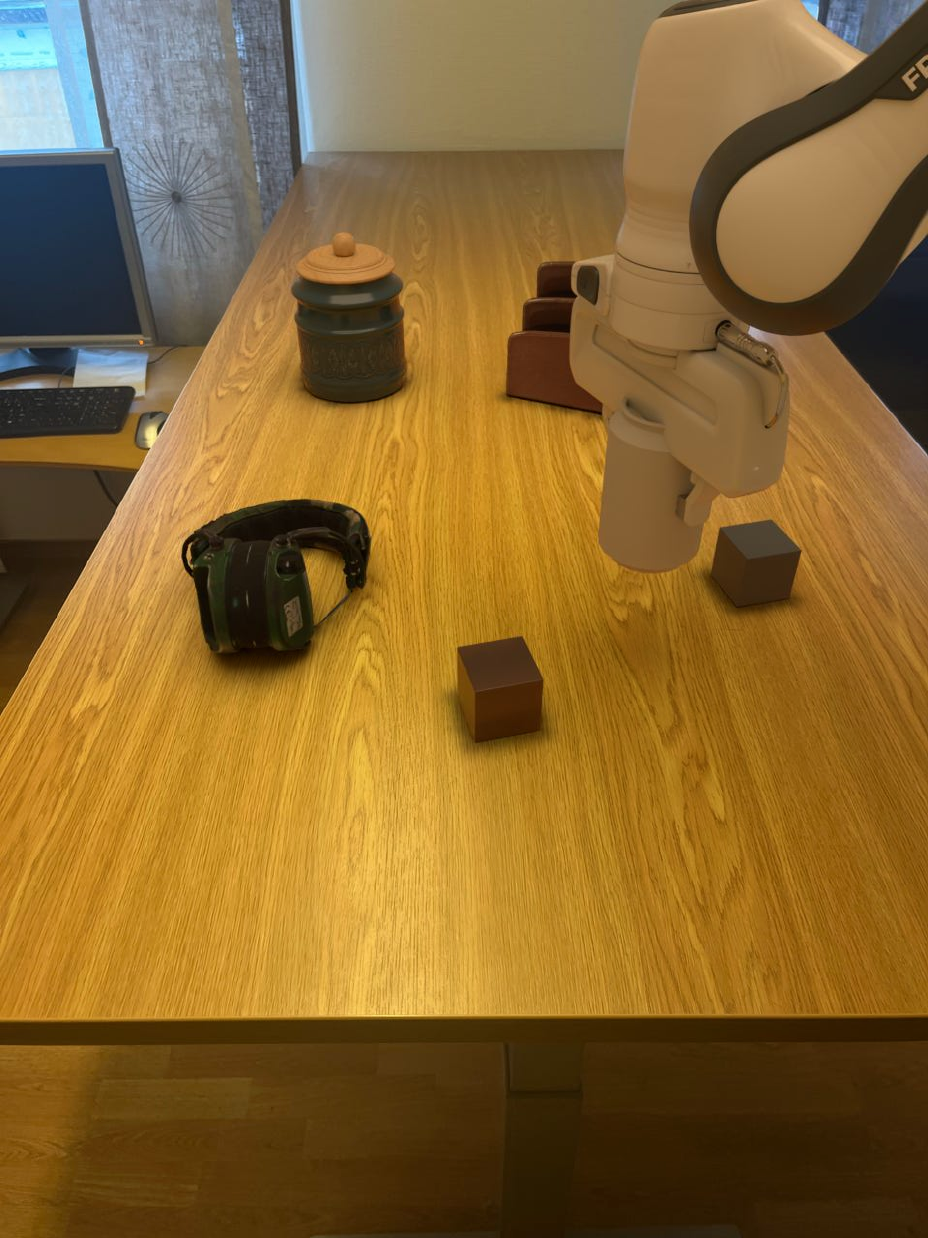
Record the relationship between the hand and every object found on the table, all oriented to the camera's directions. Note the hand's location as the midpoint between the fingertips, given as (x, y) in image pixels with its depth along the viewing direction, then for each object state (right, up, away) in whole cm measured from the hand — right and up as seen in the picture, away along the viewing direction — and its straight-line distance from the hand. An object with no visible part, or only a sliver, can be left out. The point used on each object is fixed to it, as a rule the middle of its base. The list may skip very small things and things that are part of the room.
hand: (655, 490), depth 68 cm
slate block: (+11, -6, +15) cm, 20 cm away
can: (0, -4, +3) cm, 5 cm away
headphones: (-30, -8, +14) cm, 33 cm away
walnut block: (-11, -16, +3) cm, 20 cm away
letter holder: (+2, +18, +46) cm, 49 cm away
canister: (-27, +20, +49) cm, 59 cm away
